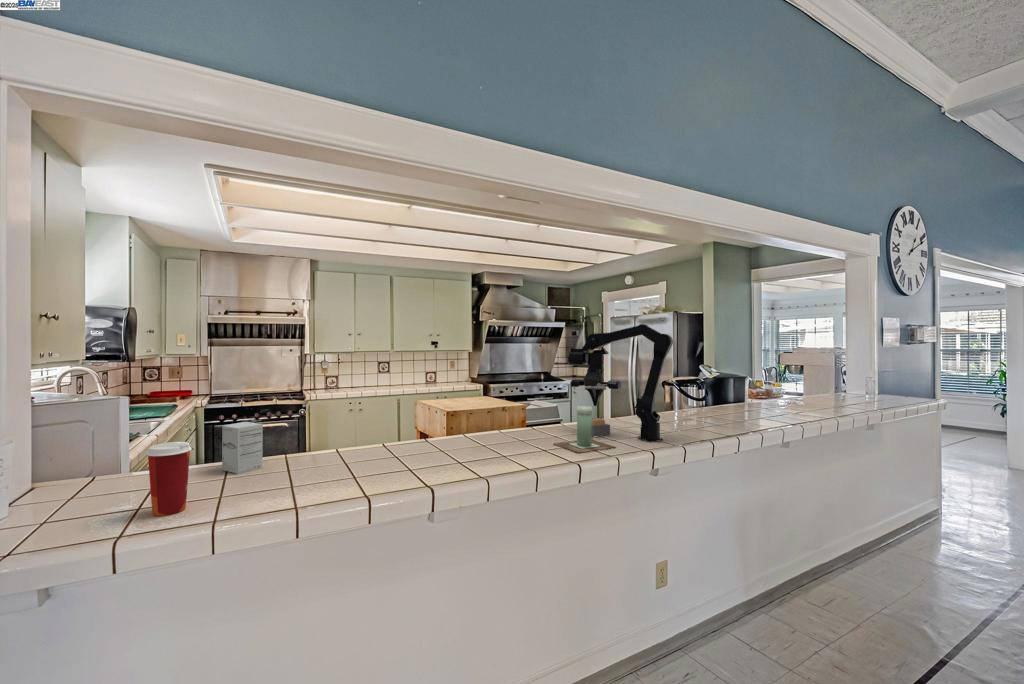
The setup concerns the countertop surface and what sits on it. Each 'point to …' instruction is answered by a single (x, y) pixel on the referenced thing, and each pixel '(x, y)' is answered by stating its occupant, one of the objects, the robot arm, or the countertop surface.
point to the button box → (601, 430)
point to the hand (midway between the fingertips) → (595, 405)
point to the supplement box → (242, 447)
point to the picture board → (581, 449)
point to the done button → (598, 421)
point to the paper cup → (168, 477)
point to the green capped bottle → (584, 426)
